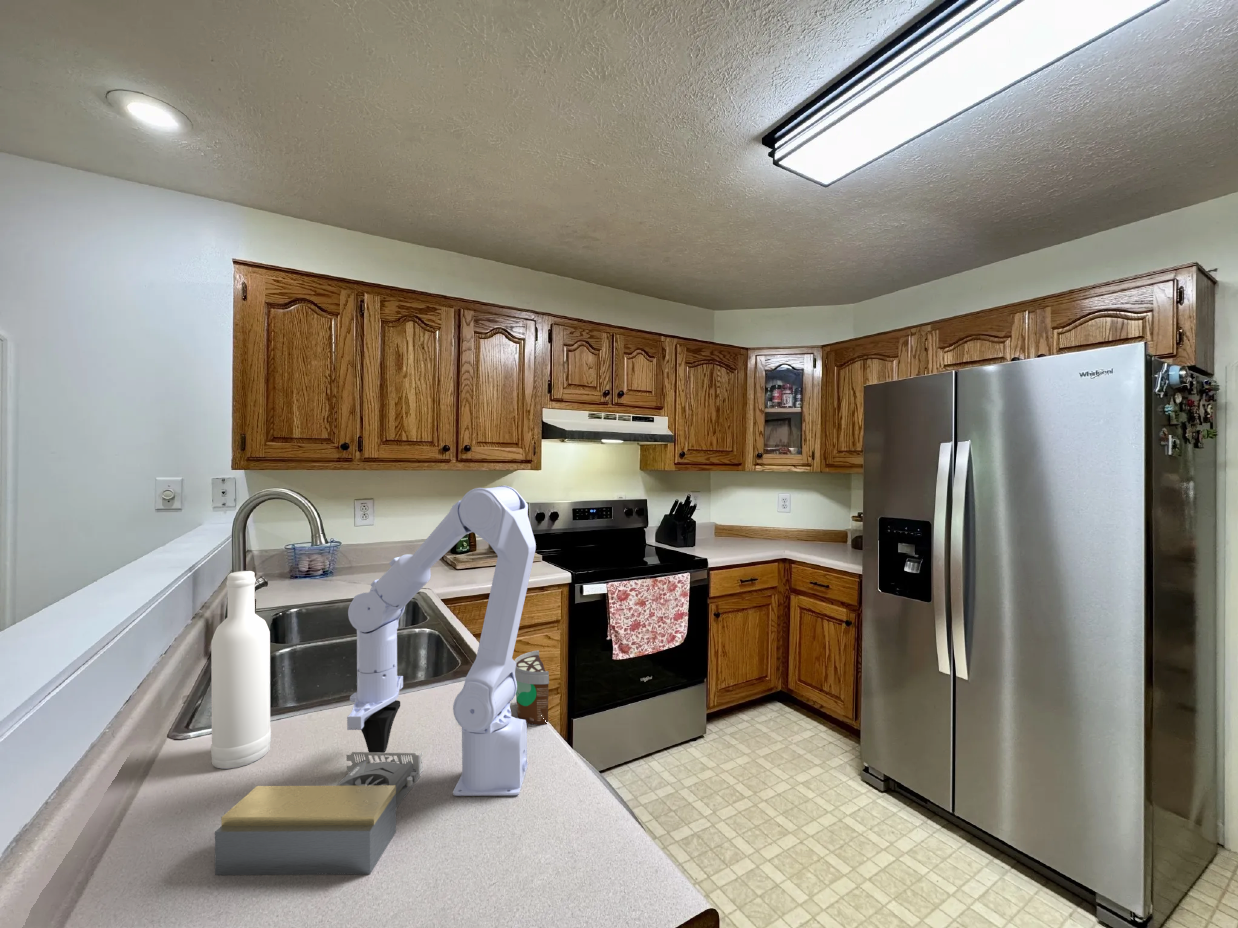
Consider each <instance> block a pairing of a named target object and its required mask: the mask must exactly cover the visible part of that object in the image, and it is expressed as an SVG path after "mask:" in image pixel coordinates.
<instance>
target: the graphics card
mask: <svg viewBox="0 0 1238 928" xmlns="http://www.w3.org/2000/svg"><path fill="white" fill-rule="evenodd" d="M370 755H371V758H372V760H373V762H371V760H370V757H369V756H370ZM374 755H377V756H374ZM381 756H382V757H383V758H384V760H385V761H383V758H382V757H381ZM395 756H396V757H397V760H396V758H395ZM345 757H346V761H347V762H351V765H346V772H347V774H346V775H345V776H344V777H343V778H342V779H341V780H340V781H339V782H338V783H337V784H336V785H335V786H370V785H396V809H397V808H398V806H399V805H400V804H401V803H402V801H403V800H404V799H405V798H406V796H407V795H408V794H409V792H410V791H411V790H412V789H413V787H414V786H415V785H416V784H417V782H418V781H419V780H420V778H421V774H422V773H423V771H424V770H423V758H422V757H423V751H421V752H420V753H419V754H416V753H415V752H385V753H376V752H367V751H352V752H351V753H350V754H346V756H345ZM376 757H377V758H378V761H379V762H378V761H377V759H376ZM390 757H392V759H391V760H390V761H388V760H389V759H390Z"/></svg>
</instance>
